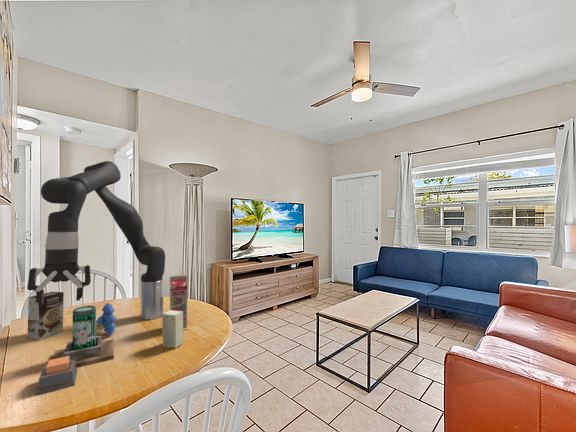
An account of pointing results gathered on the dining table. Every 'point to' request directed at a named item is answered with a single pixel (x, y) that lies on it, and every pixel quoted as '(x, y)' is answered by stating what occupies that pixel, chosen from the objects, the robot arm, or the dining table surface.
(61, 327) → the coffee box
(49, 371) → the button
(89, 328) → the can
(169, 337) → the skincare box
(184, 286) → the juice carton
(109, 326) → the grapes
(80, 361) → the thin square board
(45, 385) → the button housing
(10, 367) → the dining table surface
